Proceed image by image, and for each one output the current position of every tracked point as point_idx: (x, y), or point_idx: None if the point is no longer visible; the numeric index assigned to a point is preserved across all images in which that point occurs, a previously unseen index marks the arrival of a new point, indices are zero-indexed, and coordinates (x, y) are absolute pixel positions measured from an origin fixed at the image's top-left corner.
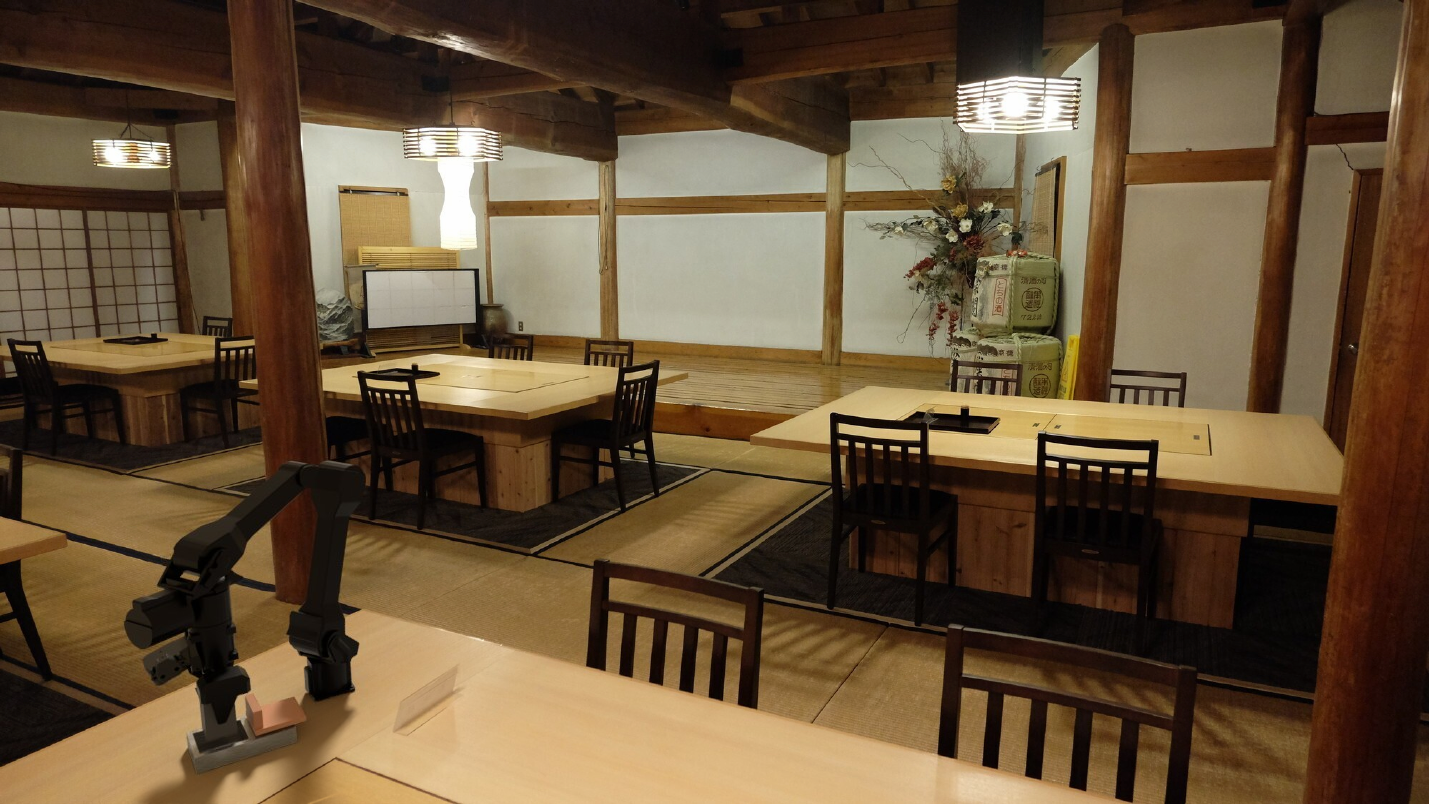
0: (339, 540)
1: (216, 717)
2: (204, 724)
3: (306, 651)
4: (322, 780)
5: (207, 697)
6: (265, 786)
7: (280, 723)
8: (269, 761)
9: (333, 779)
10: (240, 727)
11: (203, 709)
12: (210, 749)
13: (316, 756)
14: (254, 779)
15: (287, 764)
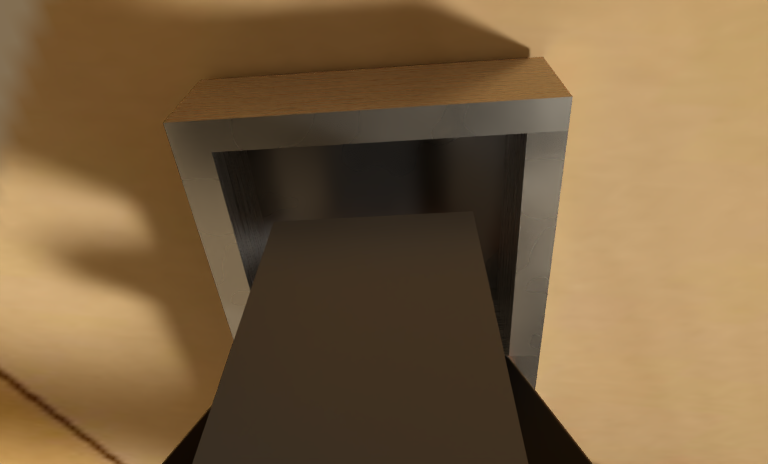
0: None
1: (198, 425)
2: (293, 297)
3: None
4: (7, 441)
5: None
6: (8, 313)
7: None
8: (202, 344)
9: (6, 461)
10: (499, 320)
11: (220, 440)
12: (417, 169)
13: (173, 449)
14: (75, 289)
15: (153, 384)
